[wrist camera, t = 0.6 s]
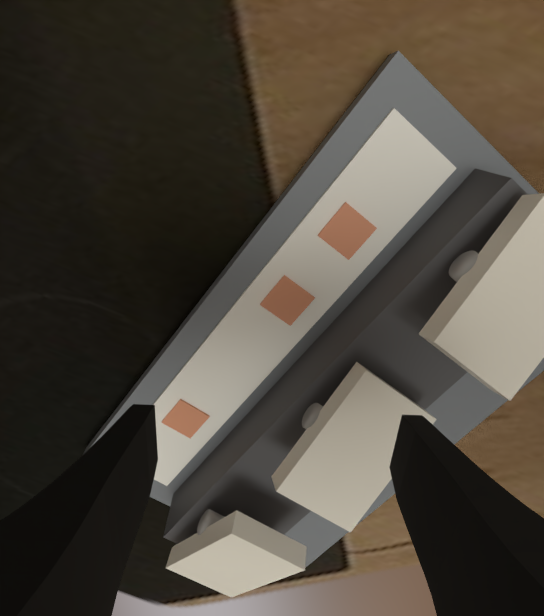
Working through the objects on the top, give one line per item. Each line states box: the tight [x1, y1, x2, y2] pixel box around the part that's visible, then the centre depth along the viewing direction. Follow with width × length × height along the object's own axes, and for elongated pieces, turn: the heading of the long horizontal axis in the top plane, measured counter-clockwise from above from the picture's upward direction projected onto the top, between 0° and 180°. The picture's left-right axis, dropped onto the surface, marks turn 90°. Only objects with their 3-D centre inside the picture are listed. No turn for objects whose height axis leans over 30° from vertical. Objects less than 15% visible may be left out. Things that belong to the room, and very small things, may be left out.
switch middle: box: [271, 362, 437, 533], centre depth 18 cm, size 4×6×2 cm, turn 142°
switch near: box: [419, 194, 544, 401], centre depth 16 cm, size 4×6×2 cm, turn 142°
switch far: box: [166, 509, 307, 597], centre depth 21 cm, size 4×6×2 cm, turn 142°
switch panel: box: [83, 51, 544, 567], centre depth 21 cm, size 16×25×4 cm, turn 142°
